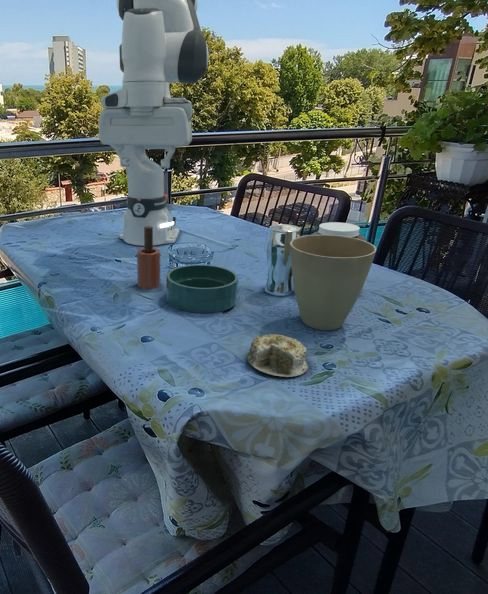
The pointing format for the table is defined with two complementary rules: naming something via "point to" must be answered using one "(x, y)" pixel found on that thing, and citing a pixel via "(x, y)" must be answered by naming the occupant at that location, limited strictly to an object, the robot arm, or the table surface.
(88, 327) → the table surface
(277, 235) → the shiny metal cylinder
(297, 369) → the cake
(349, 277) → the plant pot
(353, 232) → the jar
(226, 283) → the bowl
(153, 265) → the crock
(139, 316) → the table surface
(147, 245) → the stirring stick
